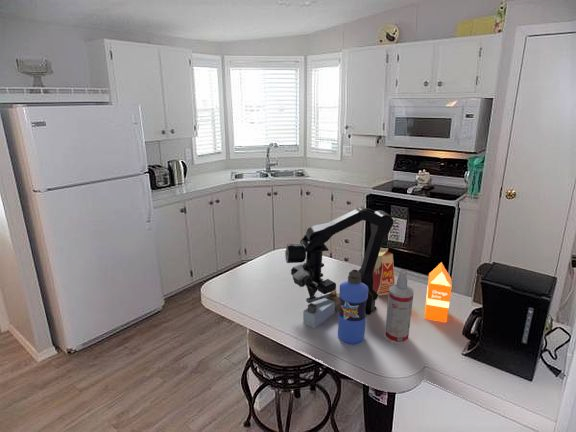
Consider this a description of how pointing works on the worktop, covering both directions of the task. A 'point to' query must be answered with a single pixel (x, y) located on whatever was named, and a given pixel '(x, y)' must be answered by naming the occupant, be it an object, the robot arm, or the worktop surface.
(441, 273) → the orange juice
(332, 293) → the bar
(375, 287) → the milk carton
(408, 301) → the spray bottle
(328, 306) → the blue-grey block
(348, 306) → the blue bottle
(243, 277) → the worktop surface
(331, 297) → the tan wooden block
